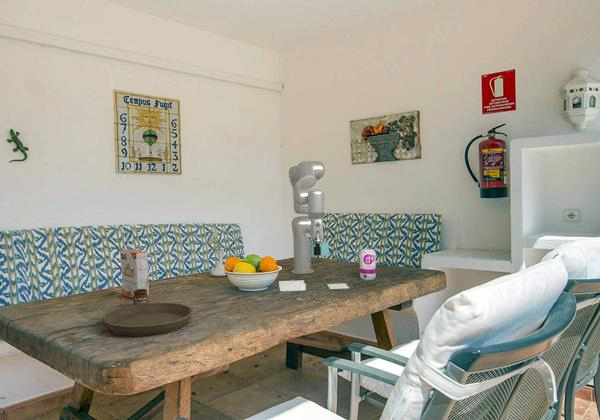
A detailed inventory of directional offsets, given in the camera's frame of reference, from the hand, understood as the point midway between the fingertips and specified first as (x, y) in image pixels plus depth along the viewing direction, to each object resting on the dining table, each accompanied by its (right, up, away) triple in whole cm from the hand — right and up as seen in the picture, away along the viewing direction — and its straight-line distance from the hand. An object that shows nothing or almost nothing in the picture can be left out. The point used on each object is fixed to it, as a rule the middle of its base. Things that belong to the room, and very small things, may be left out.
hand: (316, 253), depth 230 cm
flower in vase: (-52, -16, +36) cm, 65 cm away
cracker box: (-82, -19, -13) cm, 85 cm away
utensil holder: (-73, -19, -31) cm, 82 cm away
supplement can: (+27, -15, +22) cm, 38 cm away
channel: (-12, -17, -1) cm, 20 cm away
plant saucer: (-62, -21, -57) cm, 87 cm away
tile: (+10, -16, +2) cm, 19 cm away
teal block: (+1, -1, 0) cm, 2 cm away
